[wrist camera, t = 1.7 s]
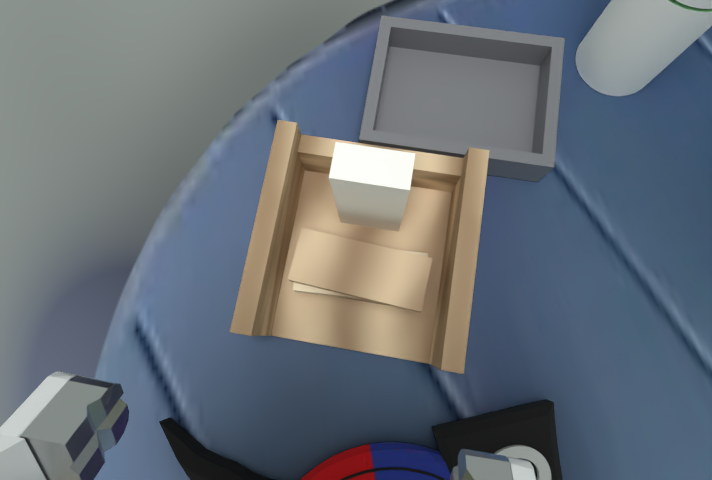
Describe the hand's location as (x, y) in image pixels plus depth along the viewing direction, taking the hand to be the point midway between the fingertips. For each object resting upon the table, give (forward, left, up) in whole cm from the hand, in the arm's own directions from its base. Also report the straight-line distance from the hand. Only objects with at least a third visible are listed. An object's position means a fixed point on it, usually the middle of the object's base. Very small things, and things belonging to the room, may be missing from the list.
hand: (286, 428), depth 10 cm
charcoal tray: (-6, -24, -26) cm, 36 cm away
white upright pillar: (0, -12, -25) cm, 28 cm away
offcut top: (0, -7, -22) cm, 23 cm away
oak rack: (0, -9, -26) cm, 28 cm away
